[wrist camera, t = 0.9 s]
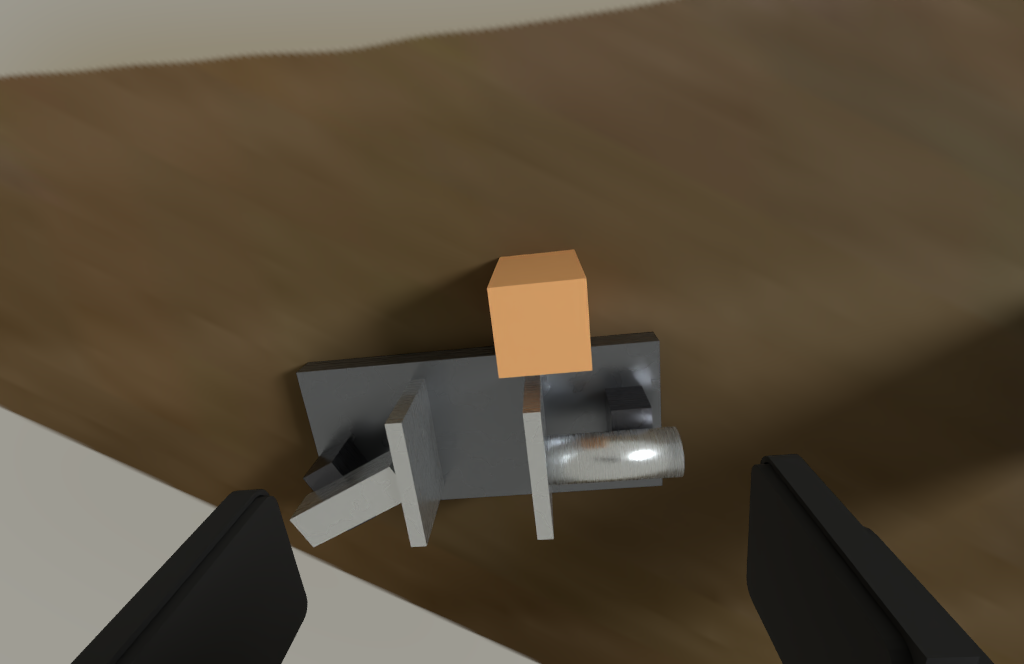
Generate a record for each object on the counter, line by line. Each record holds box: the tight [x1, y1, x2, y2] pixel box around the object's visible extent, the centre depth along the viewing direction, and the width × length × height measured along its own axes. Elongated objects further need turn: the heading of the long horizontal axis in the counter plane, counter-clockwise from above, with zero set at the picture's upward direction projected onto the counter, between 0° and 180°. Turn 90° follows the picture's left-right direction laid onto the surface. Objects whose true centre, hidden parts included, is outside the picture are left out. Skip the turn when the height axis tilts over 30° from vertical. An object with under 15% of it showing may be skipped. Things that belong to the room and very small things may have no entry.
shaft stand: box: [290, 332, 685, 547], centre depth 27 cm, size 20×9×6 cm, turn 96°
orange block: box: [487, 250, 592, 378], centre depth 24 cm, size 4×4×7 cm
